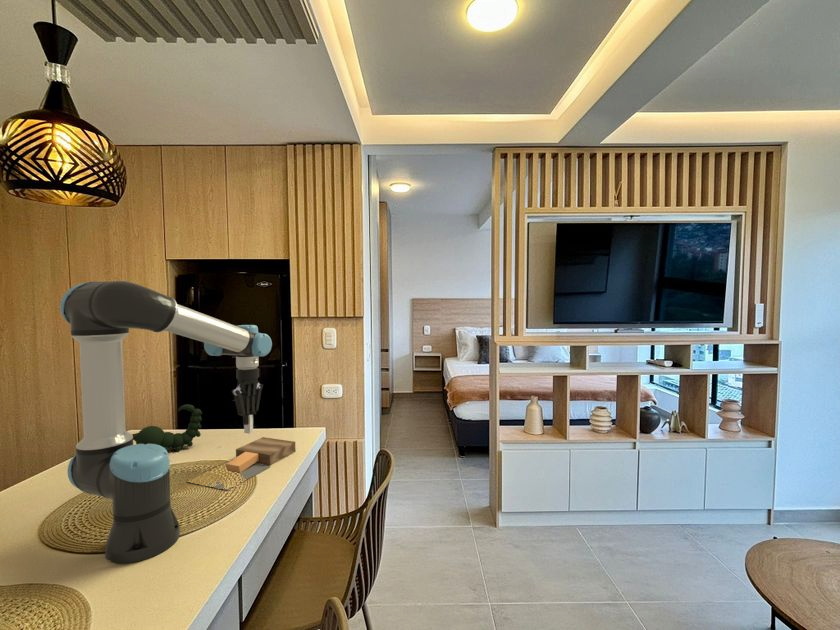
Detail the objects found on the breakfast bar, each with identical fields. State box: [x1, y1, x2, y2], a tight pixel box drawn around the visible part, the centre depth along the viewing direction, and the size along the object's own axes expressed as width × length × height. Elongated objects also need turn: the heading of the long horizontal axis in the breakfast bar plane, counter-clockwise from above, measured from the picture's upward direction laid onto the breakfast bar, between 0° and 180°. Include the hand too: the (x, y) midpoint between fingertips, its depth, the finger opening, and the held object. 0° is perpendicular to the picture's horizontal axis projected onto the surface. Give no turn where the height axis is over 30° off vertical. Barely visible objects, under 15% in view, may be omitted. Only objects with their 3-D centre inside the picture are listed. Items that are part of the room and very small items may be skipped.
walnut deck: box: [235, 436, 297, 467], centre depth 155 cm, size 14×16×4 cm
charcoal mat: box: [209, 459, 271, 491], centre depth 139 cm, size 19×18×1 cm
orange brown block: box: [226, 452, 259, 473], centre depth 144 cm, size 9×6×2 cm, turn 159°
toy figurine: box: [131, 403, 203, 452], centre depth 161 cm, size 9×19×25 cm
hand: (248, 432), depth 147 cm, fingers closed
